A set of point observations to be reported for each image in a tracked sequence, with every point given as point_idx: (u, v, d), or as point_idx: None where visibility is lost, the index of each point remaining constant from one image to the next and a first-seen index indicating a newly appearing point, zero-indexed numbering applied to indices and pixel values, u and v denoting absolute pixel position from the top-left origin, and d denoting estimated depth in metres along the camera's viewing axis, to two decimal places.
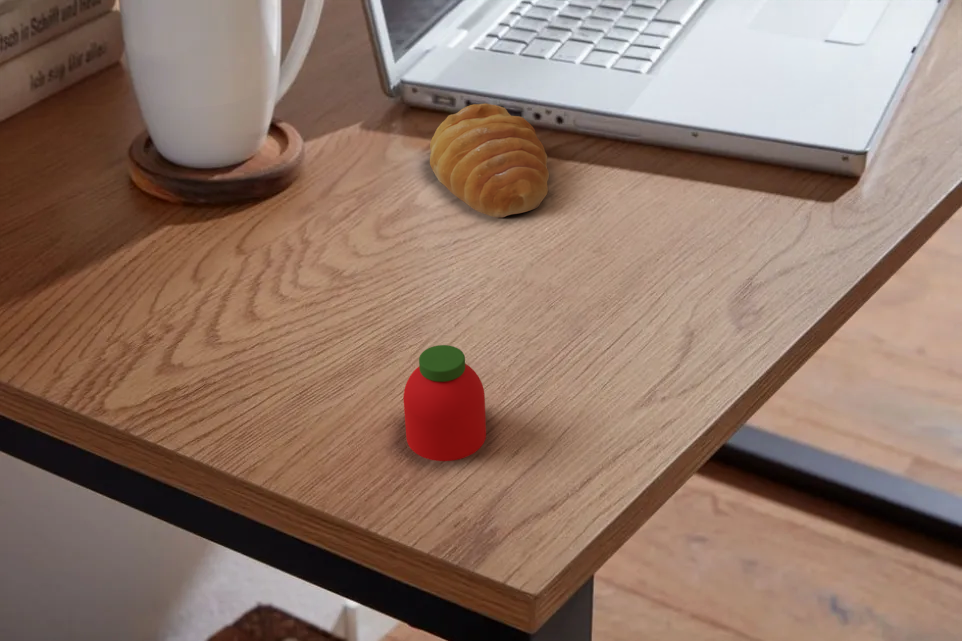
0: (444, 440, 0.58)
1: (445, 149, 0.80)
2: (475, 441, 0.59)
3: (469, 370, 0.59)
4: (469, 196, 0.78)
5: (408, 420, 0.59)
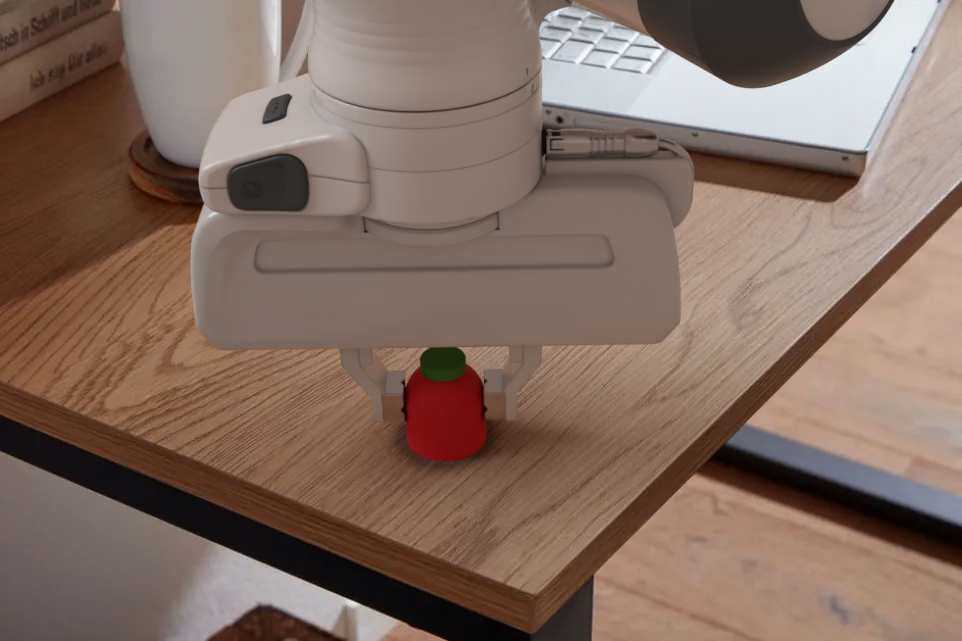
0: (445, 440, 0.58)
1: None
2: (476, 441, 0.59)
3: (470, 370, 0.59)
4: None
5: (409, 420, 0.59)
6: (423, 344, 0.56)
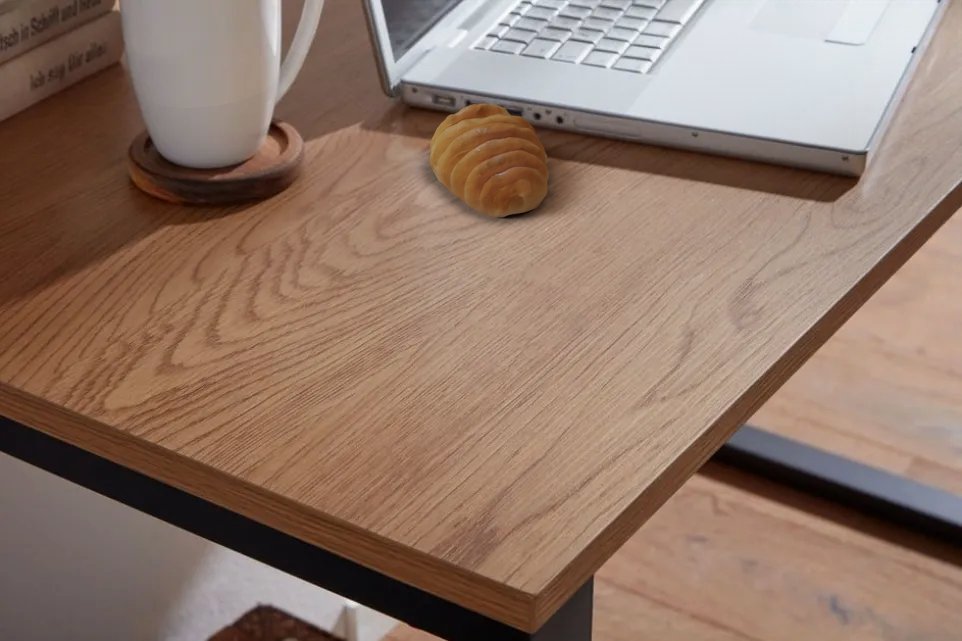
0: None
1: (445, 149, 0.80)
2: None
3: None
4: (469, 196, 0.78)
5: None
6: None
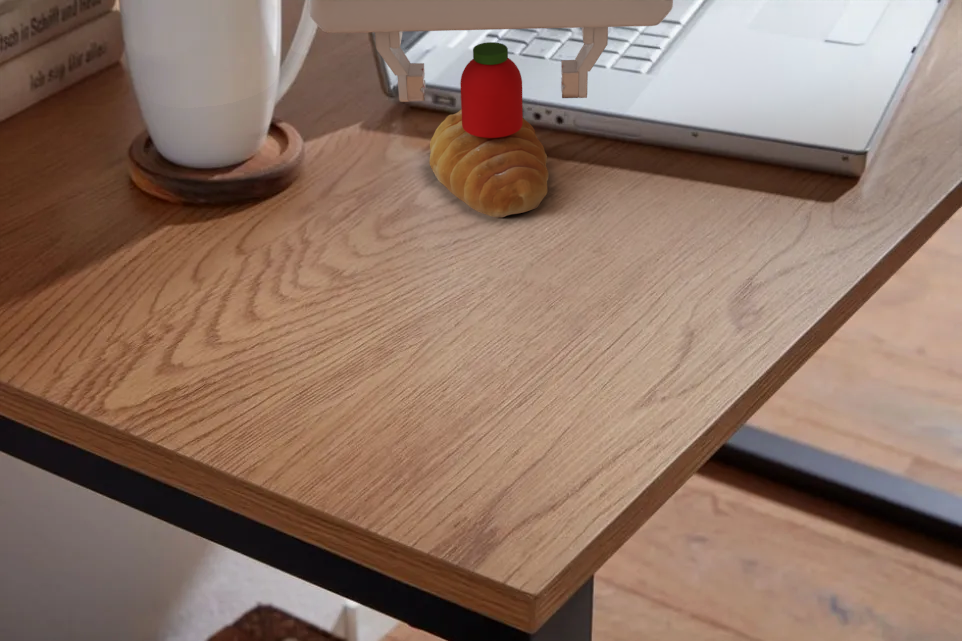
0: (491, 112, 0.77)
1: (445, 149, 0.80)
2: (515, 116, 0.78)
3: (511, 60, 0.77)
4: (469, 196, 0.78)
5: (464, 99, 0.77)
6: (480, 26, 0.74)
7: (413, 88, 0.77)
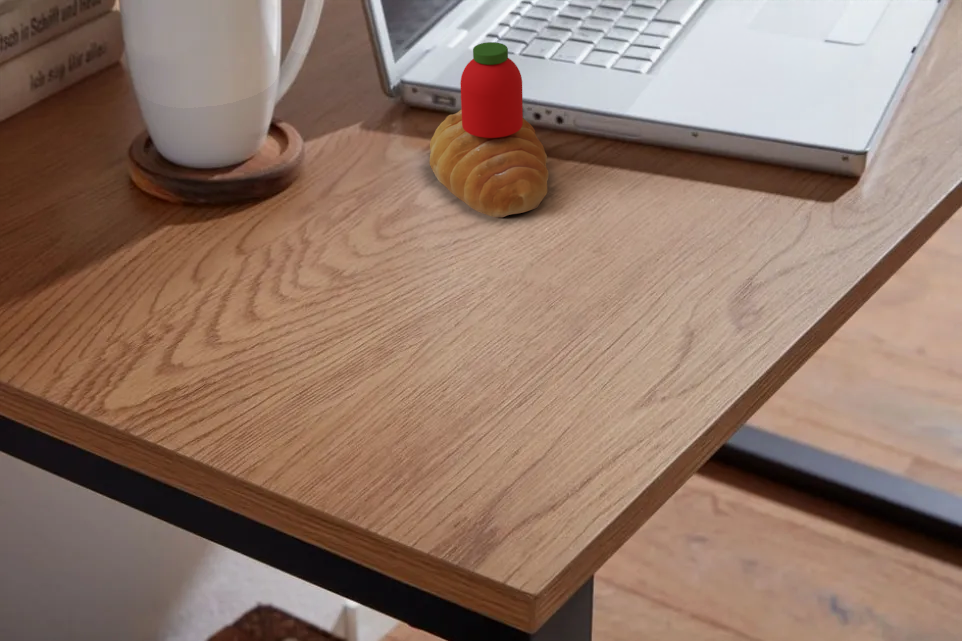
0: (491, 112, 0.77)
1: (445, 149, 0.80)
2: (515, 116, 0.78)
3: (511, 60, 0.77)
4: (469, 196, 0.78)
5: (464, 99, 0.77)
6: None
7: None
